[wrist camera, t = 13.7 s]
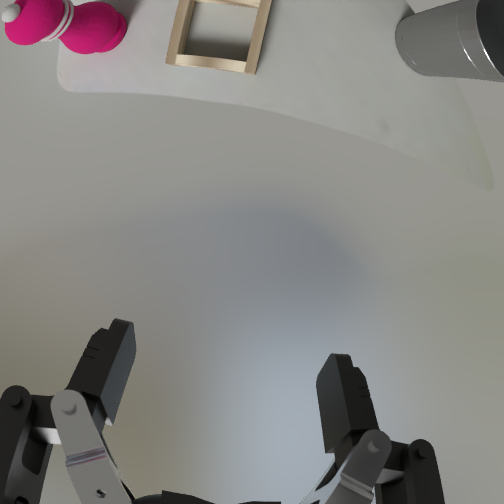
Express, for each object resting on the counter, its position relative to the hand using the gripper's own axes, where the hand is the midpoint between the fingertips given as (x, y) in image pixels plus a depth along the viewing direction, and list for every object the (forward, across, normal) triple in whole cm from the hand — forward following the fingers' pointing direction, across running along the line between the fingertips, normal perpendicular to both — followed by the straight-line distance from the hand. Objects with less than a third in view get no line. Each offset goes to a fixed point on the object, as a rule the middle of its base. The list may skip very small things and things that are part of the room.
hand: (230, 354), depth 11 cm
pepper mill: (+30, +22, -16) cm, 41 cm away
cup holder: (+30, +7, -17) cm, 35 cm away
